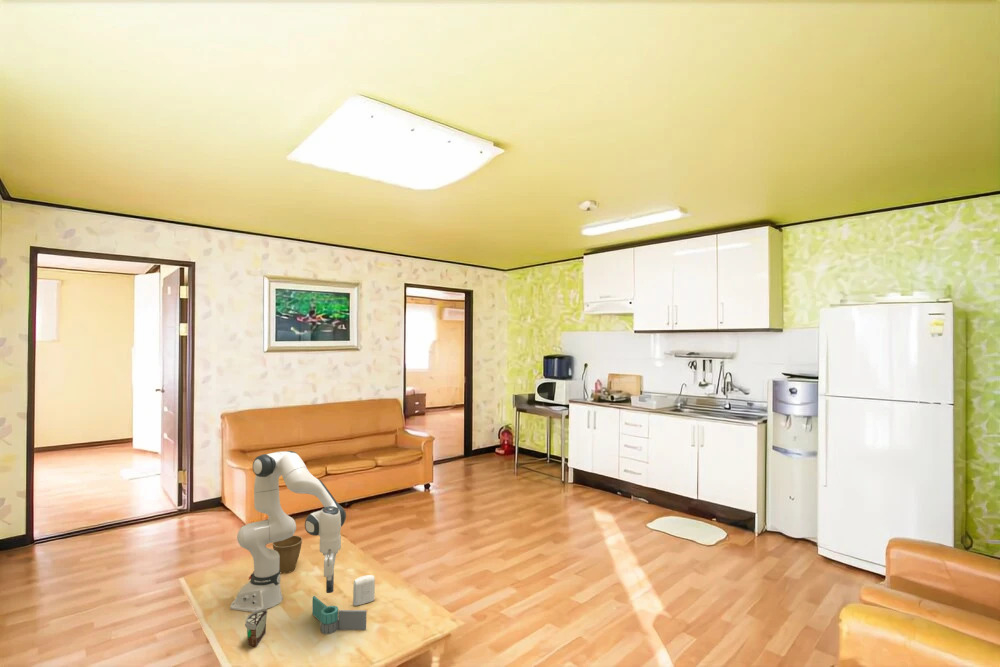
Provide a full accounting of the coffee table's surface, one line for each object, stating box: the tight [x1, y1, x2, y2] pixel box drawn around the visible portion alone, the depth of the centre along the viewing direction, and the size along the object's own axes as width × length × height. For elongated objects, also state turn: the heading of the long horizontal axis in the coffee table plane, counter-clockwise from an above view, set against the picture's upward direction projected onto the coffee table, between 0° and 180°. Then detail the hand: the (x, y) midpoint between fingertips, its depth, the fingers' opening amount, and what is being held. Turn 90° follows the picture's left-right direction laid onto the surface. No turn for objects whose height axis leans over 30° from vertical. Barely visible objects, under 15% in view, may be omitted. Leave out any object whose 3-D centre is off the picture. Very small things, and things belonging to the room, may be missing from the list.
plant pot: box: [272, 535, 303, 574], centre depth 263 cm, size 15×15×16 cm
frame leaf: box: [320, 609, 367, 635], centre depth 210 cm, size 20×7×8 cm, turn 90°
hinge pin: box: [325, 570, 335, 594], centre depth 210 cm, size 3×3×12 cm
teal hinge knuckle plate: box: [311, 595, 339, 624], centre depth 214 cm, size 20×7×8 cm, turn 45°
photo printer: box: [352, 574, 376, 607], centre depth 232 cm, size 10×4×12 cm, turn 123°
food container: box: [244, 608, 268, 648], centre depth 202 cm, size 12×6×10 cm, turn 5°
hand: (329, 577), depth 210 cm, fingers closed on hinge pin, 3 cm apart
